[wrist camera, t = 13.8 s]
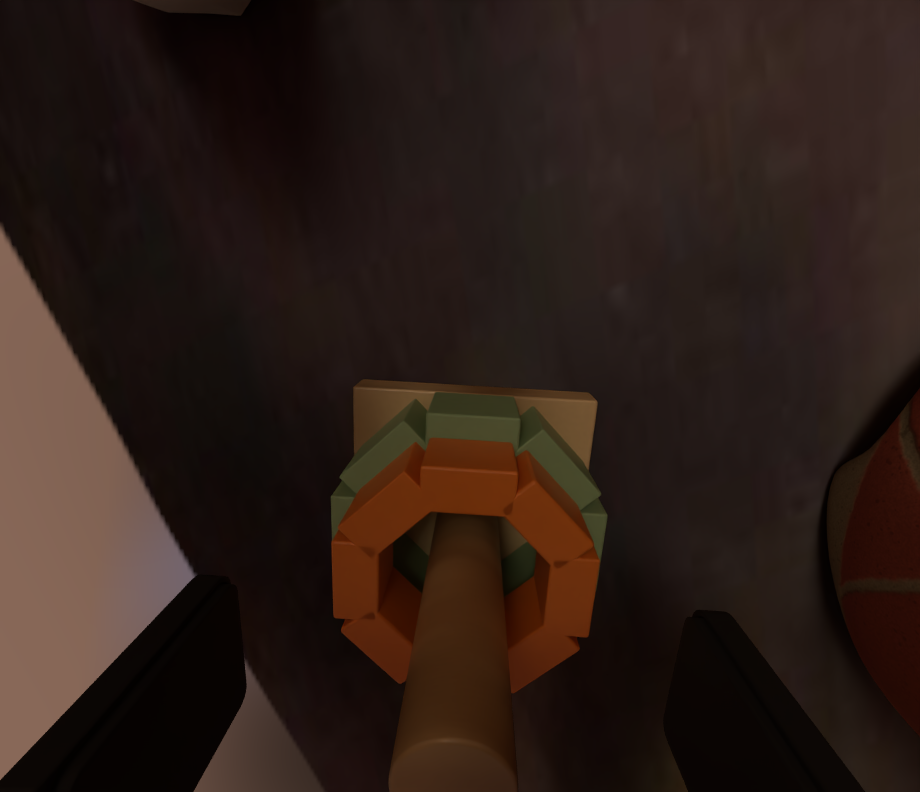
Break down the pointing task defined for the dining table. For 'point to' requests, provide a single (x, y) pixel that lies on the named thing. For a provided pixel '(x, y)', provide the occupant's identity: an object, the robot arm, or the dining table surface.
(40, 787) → the robot arm
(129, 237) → the dining table surface
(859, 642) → the planter
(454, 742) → the post
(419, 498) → the top ring
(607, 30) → the dining table surface
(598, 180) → the dining table surface
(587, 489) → the bottom ring
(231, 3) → the salt shaker
